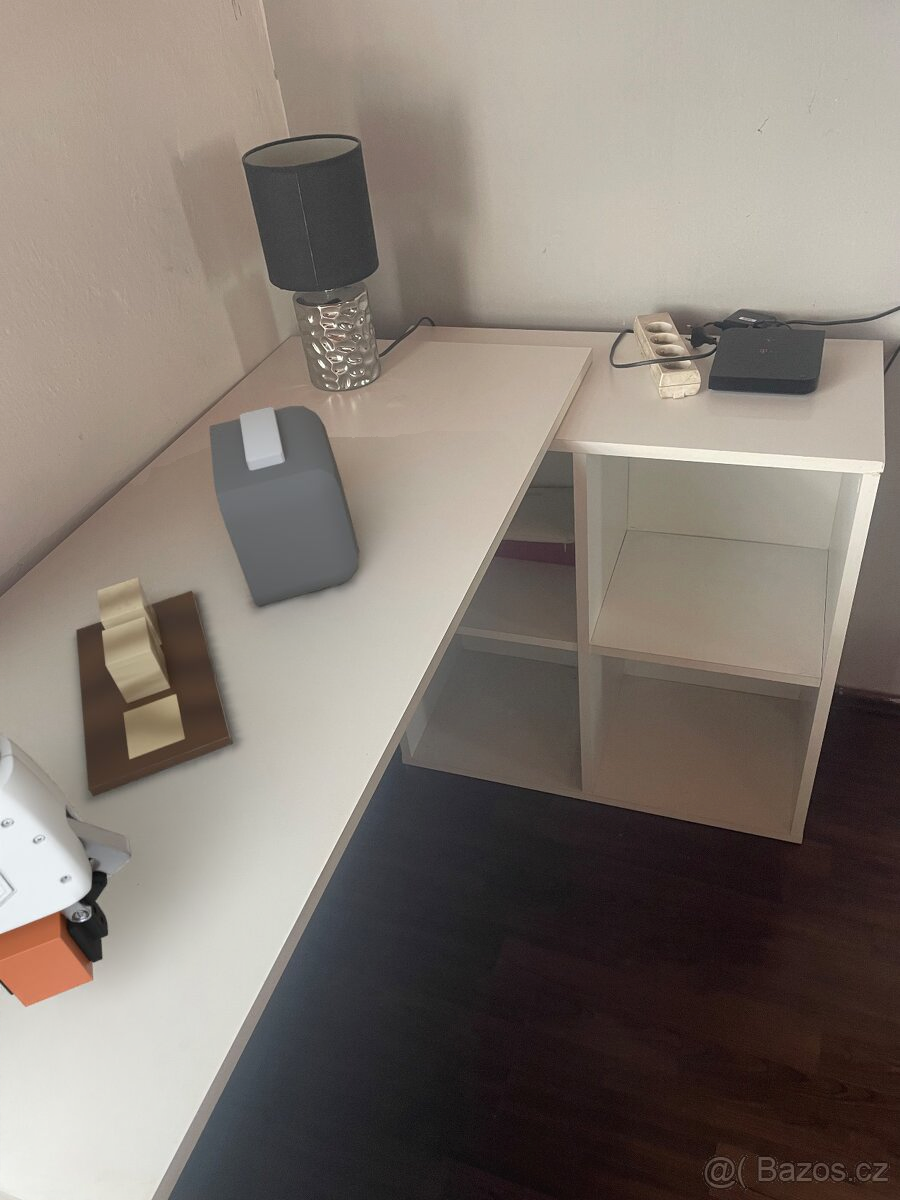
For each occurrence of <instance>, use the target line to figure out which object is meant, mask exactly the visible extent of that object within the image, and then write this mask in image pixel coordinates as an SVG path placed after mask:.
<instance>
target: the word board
mask: <svg viewBox="0 0 900 1200" xmlns="http://www.w3.org/2000/svg"><path fill="white" fill-rule="evenodd" d="M151 605H152V607H153V609H154V611H155V613H156V616H157V621H158V626H159V631H160V637H161V642H162V645H159V646H160V648H161V650H162V652H163V654H164V658H165V663H166V668H167V673H168V678H169V684H170V688H169V689H166V690H163V691H161V692H158V693H155V694H152V695H149V696H147V697H144V698H141V699H138V700H136V701H133V702H130V703H127V702H126V701H125V699H124V697H123V695H122V693H121V692H120V690H119V688H118V686H117V685H116V683H115V681H114V679H113V678H112V676H111V674H110V672H109V671H108V669H107V667H106V664H105V655H104V646H103V637H102V631H104V630H105V628H104V626H103V624H102V623H101V621H98V622H95V623H93V624H89V625H87V626H83V627H80V628H78V629H76V630H75V631H76V642H77V644H76V645H77V656H78V657H77V658H78V668H79V669H78V670H79V683H80V685H79V686H80V697H81V710H82V722H83V723H82V724H83V735H84V737H83V738H84V749H85V763H86V775H87V789H88V791H89V793H90V794H91V796H93V797H96V796H97V795H101V794H103V793H106V792H109V791H112V790H113V789H116V788H119V787H122V786H124V785H127V784H129V783H132V782H135V781H138V780H140V779H143V778H145V777H148V776H150V775H155V774H156V773H158V772H161V771H164V770H167V769H169V768H172V767H174V766H178V765H180V764H182V763H185V762H188V761H190V760H193V759H196V758H198V757H201V756H204V755H206V754H208V753H211V752H215V751H217V750H220V749H222V748H224V747H227V746H231V745H232V744H233V740H232V737H231V732H230V728H229V724H228V721H227V720H228V719H227V717H226V712H225V708H224V705H223V701H222V696H221V693H220V689H219V685H218V681H217V677H216V674H215V673H216V672H215V669H214V665H213V662H212V658H211V653H210V650H209V646H208V642H207V638H206V634H205V631H204V626H203V622H202V618H201V615H200V611H199V606H198V603H197V599H196V596H195V594H194V592H193V590H189V591H186V592H184V593H181V594H178V595H174V596H171V597H169V598H165V599H162V600H160V601H157V602H154V603H151Z"/></svg>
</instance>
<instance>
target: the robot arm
mask: <svg viewBox="0 0 900 1200" xmlns="http://www.w3.org/2000/svg"><path fill="white" fill-rule="evenodd" d="M131 858H132V850H131V841H130V838H129V837H128V836H125V835H124V834H119V833H116V832H114V831H111V830H108V829H106V828H102V827H99V826H96V825H93V824H90V823H88V822H85V821H84V820H83V818H82V817H81V815H80V813H79V812H78V810H77V809H76V808H75V806H74V805H73V803H72V802H71V801H70V800H69V798H68V797H67V795H66V794H65V793H64V792H63V791H62V789H61V788H60V787H59V785H58V784H57V782H55V780H53V778H52V777H51V776H50V775H49V774H48V773H47V772H46V771H45V770H44V768H43V767H42V766H41V765H39V763H37V761H36V760H35V759H33V758H32V756H31V755H29V754H28V753H27V752H26V751H25V750H24V749H22V747H20V746H19V745H18V744H16V742H14V741H13V740H12V739H10V738H9V737H8V736H7V735H5V734H3V732H0V934H2V933H4V932H7V931H10V930H12V929H15V928H17V927H20V926H23V925H25V924H28V923H30V922H33V921H35V920H38V919H40V918H43V917H46V916H48V915H50V914H53V913H55V912H58V911H59V912H60V913H61V914H62V915H64V916H65V917H66V919H67V931H68V933H69V935H70V936H71V937H72V939H73V940H74V941H75V943H76V944H77V945H78V947H79V948H80V949H81V951H82V952H83V953H84V955H85V956H86V957H87V959H88V960H89V961H90V962H91V961H92V964H93V963H97V962H99V961H102V960H103V958H104V957H103V944H102V943H103V942H102V941H103V940H102V938H105V937H107V936H109V923H108V919H107V916H106V914H105V913H104V911H103V909H102V907H100V905H99V903H98V902H97V900H98V899H99V897H100V895H101V894H102V893H103V891H104V890H105V888H106V887H107V885H108V880H109V879H110V878H111V877H113V876H115V875H116V874H117V873H118V872H119V871H120V870H121V869H122V868H123V867H124V866H125V865H126V864H127V863H128V862H129V861H130V860H131ZM0 985H1V986H2V987H3V988H4V989H5V991H7V993H8V994H10V995H11V996H13V995H14V994H13V993H12V992H11V991H10V989H9V988H8V987H7V986H6V985H5V984H4V983H3V982H2V981H1V980H0ZM14 996H15V995H14Z"/></svg>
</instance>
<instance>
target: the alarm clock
mask: <svg viewBox="0 0 900 1200" xmlns="http://www.w3.org/2000/svg"><path fill="white" fill-rule="evenodd" d="M209 441H210V451H211V453H210V454H211V464H212V465H211V466H212V476H213V484H214V485H213V486H214V490H215V497H216V500H217V503H218V506H219V511H220V513H221V516H222V519H223V522H224V525H225V528H226V531H227V534H228V536H229V539H230V541H231V544H232V547H233V549H234V552H235V554H236V557H237V560H238V563H239V565H240V568H241V570H242V573H243V576H244V578H245V581H246V584H247V586H248V589H249V591H250V594H251V598H252V599H253V602H254V604H255V605H256V606H257V607H260V606H264V605H268V604H270V603H275V602H278V601H282V600H286V599H289V598H293V597H297V596H300V595H304V594H308V593H312V592H316V591H320V590H322V589H327V588H331V587H334V586H338V585H341V584H343V583H344V582H346V581H348V580H350V579H352V577H353V576H354V575H355V573H356V572H357V570H359V561H360V560H359V559H360V548H359V545H358V540H357V536H356V532H355V528H354V524H353V520H352V516H351V513H350V508H349V504H348V501H347V497H346V493H345V489H344V486H343V482H342V478H341V475H340V474H341V473H340V471H339V468H338V465H337V461H336V458H335V453H334V452H333V448H332V445H331V441H330V438H329V435H328V432H327V429H326V426H325V424H324V423H323V421H322V419H321V418H320V416H319V415H318V413H317V412H315V411H314V410H311V409H310V408H308V407H306V406H304V405H290V406H286V407H281V408H277V409H274V407H273V406H268V407H264V408H259V409H256V410H251V411H248V412H243V413H241V414H239V418H237V419H233V420H229V421H225V422H224V421H223V422H221V423H216V424H212V425H210V426H209Z"/></svg>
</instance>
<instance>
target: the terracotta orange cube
mask: <svg viewBox="0 0 900 1200" xmlns="http://www.w3.org/2000/svg"><path fill="white" fill-rule="evenodd" d="M0 980H1V981H2V982H3V983H4V984H5V985H6V986H7V987H8V988H9V989H10V991H11V992H12V993H13V994H14V996H15V997H16V998H17V999H18V1001H19V1002H20V1003H21V1004H22V1006H24V1007H25V1008H27V1007H30V1006H32V1005H35V1004H38V1003H39V1002H42V1001H45V1000H47V999H50V998H52V997H55V996H57V995H60V994H62V993H65V992H67V991H69V990H72V989H75V988H78V987H79V986H82V985H85V984H87V983H90V982H92V981H94V967H93V962H92V961H91V962H90V961H89V960H88V959H87V957H86V956H85V955H84V953H83V952H82V951H81V949H80V948H79V947H78V945H77V944H76V943H75V941H74V940H73V939H72V937H71V936H70V935H69V933H68V931H67V919H66V917H65V916H64V915H62V914H61V913H60V912H59V911H58V912H55V913H53V914H50V915H48V916H46V917H43V918H40V919H38V920H35V921H33V922H30V923H28V924H25V925H23V926H20V927H17V928H15V929H12V930H10V931H7V932H4V933H2V934H0Z"/></svg>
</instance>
